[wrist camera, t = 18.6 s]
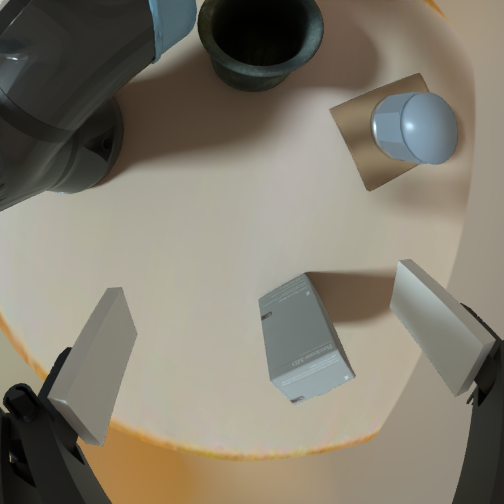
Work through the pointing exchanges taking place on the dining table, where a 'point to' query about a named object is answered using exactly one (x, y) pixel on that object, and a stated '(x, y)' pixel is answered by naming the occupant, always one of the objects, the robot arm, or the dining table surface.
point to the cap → (417, 127)
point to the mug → (259, 39)
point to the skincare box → (302, 342)
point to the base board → (359, 133)
